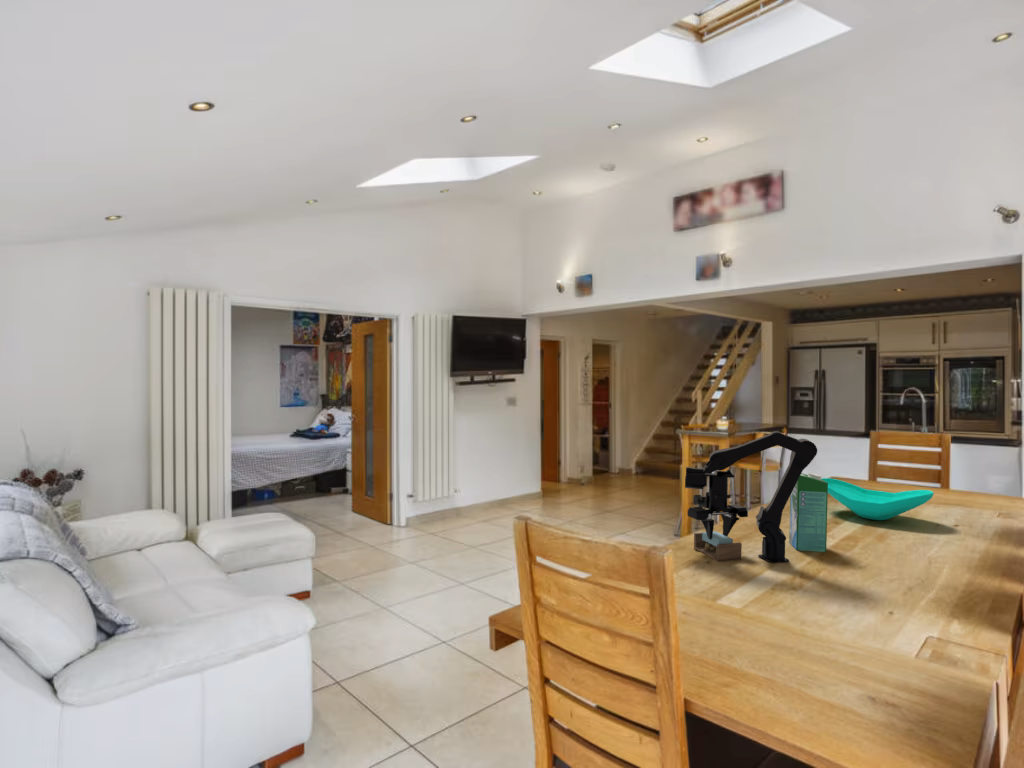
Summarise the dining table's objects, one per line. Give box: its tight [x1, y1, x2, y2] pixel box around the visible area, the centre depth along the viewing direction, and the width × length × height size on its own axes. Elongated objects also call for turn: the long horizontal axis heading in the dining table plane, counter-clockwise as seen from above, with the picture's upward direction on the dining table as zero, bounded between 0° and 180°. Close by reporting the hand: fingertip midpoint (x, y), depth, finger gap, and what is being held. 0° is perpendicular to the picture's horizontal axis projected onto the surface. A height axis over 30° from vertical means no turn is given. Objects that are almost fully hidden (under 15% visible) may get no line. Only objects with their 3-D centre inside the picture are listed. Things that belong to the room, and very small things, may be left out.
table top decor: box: [821, 477, 935, 521], centre depth 234 cm, size 40×28×13 cm
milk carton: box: [788, 472, 829, 553], centre depth 193 cm, size 9×9×25 cm
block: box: [701, 530, 734, 547], centre depth 186 cm, size 9×5×2 cm, turn 15°
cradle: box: [693, 532, 742, 562], centre depth 186 cm, size 14×8×5 cm, turn 15°
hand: (717, 538), depth 186 cm, fingers open, 5 cm apart
